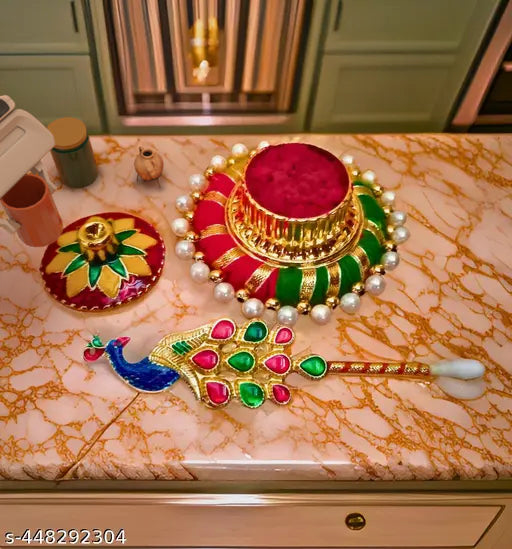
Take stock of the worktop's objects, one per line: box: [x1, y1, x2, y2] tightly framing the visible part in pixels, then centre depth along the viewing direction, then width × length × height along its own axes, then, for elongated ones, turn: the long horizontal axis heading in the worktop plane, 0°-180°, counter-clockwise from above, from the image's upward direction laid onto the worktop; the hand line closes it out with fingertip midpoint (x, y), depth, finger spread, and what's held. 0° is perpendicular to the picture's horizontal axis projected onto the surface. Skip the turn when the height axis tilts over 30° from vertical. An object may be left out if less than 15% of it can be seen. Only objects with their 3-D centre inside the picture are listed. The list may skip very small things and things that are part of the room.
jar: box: [46, 116, 100, 189], centre depth 116 cm, size 8×8×12 cm
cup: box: [0, 173, 64, 248], centre depth 85 cm, size 7×7×9 cm
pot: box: [133, 146, 165, 188], centre depth 118 cm, size 6×8×6 cm
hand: (35, 211), depth 85 cm, fingers closed on cup, 7 cm apart
